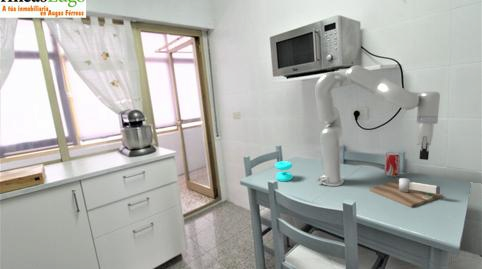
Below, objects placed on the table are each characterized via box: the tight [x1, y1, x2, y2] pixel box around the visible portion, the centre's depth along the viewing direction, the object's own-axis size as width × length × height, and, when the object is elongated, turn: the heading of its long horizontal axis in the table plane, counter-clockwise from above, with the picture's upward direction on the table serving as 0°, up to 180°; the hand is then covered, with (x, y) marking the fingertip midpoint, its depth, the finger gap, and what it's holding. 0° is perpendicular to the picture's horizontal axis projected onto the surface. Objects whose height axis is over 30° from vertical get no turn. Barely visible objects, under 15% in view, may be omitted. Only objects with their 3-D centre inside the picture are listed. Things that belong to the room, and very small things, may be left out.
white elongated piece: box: [398, 177, 441, 194], centre depth 110 cm, size 15×4×5 cm, turn 47°
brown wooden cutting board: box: [368, 179, 444, 209], centre depth 115 cm, size 21×21×2 cm
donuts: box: [275, 160, 294, 182], centre depth 146 cm, size 10×10×10 cm
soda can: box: [384, 151, 401, 178], centre depth 137 cm, size 7×7×13 cm
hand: (423, 159), depth 112 cm, fingers closed
